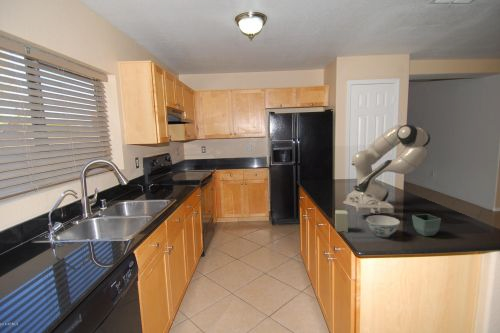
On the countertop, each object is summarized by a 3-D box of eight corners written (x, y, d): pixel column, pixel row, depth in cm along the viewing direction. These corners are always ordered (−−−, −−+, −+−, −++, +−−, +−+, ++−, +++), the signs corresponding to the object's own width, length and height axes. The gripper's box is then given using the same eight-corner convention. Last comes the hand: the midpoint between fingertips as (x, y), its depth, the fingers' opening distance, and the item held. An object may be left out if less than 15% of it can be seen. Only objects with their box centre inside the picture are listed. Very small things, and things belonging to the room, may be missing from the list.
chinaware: (359, 232, 133) (359, 218, 132) (380, 227, 139) (380, 213, 138) (385, 243, 119) (385, 227, 119) (406, 236, 125) (407, 221, 124)
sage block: (335, 231, 136) (335, 213, 135) (335, 227, 142) (335, 210, 141) (347, 232, 135) (347, 213, 133) (346, 228, 140) (346, 210, 139)
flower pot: (410, 231, 131) (411, 214, 130) (426, 230, 132) (427, 213, 131) (423, 238, 123) (424, 220, 121) (440, 237, 123) (441, 219, 122)
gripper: (354, 200, 161) (357, 206, 148) (390, 201, 155) (396, 207, 142) (354, 210, 162) (357, 217, 148) (390, 211, 156) (396, 218, 143)
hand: (376, 212), depth 145 cm, fingers closed
